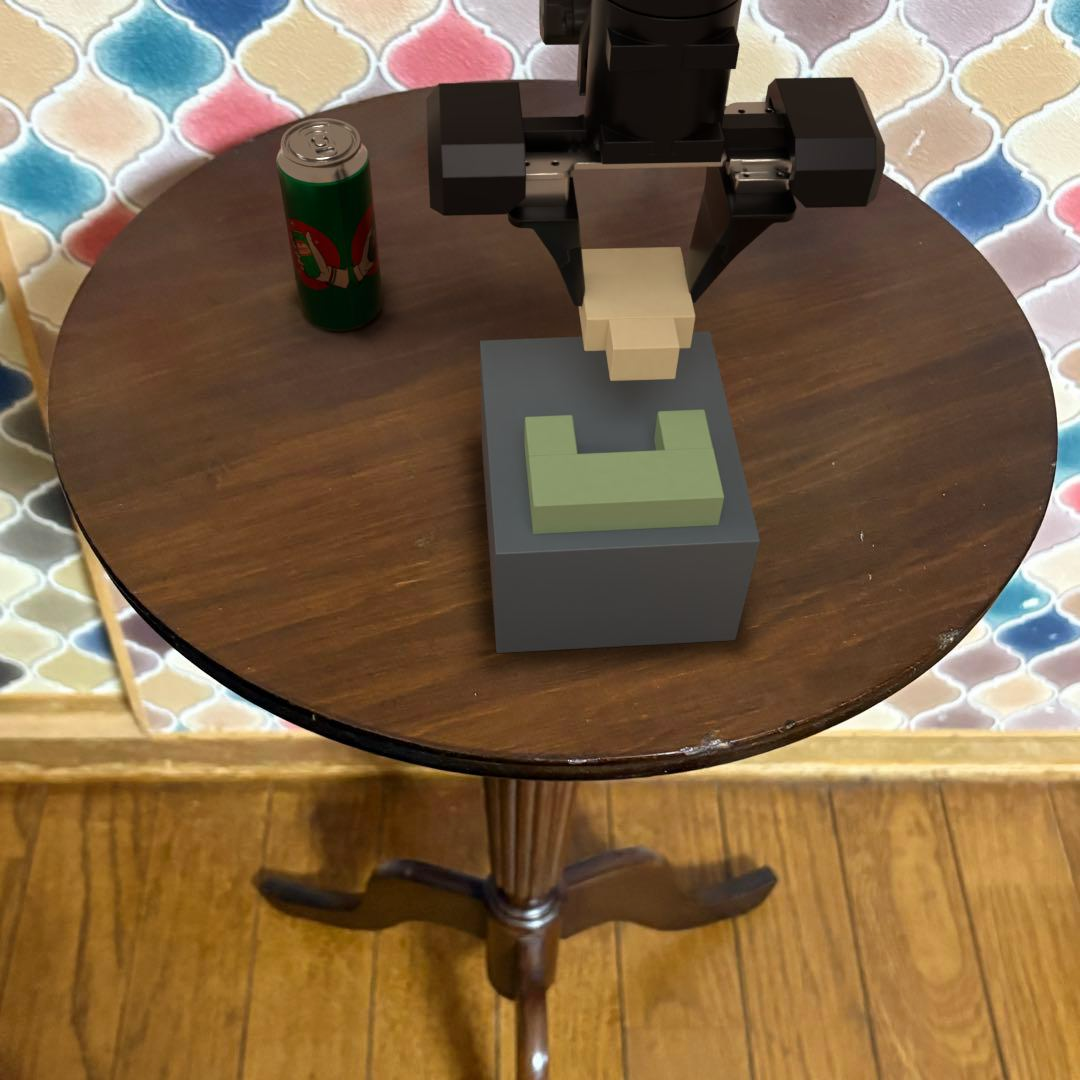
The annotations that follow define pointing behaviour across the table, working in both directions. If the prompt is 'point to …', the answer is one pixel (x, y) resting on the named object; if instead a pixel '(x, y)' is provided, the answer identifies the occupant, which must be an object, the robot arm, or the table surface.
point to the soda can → (331, 223)
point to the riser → (617, 555)
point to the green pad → (622, 478)
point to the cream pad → (637, 310)
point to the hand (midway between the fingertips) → (633, 298)
